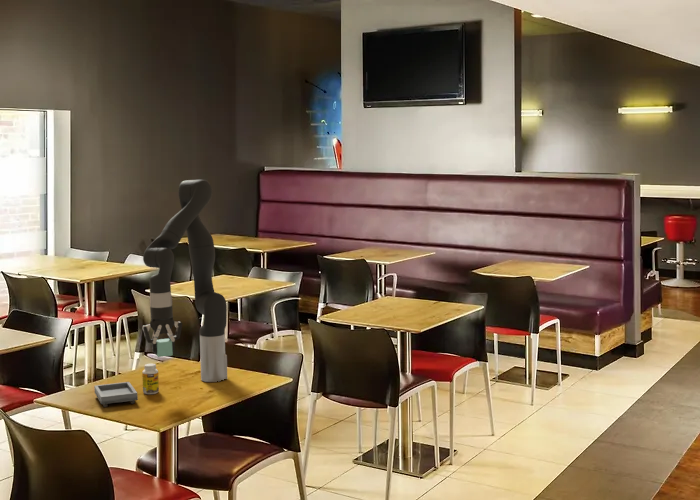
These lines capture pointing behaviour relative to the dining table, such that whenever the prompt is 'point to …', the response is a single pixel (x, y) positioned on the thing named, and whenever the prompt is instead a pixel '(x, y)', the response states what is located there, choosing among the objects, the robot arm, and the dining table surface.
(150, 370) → the supplement bottle
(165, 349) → the teal block
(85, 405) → the dining table surface
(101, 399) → the tray
